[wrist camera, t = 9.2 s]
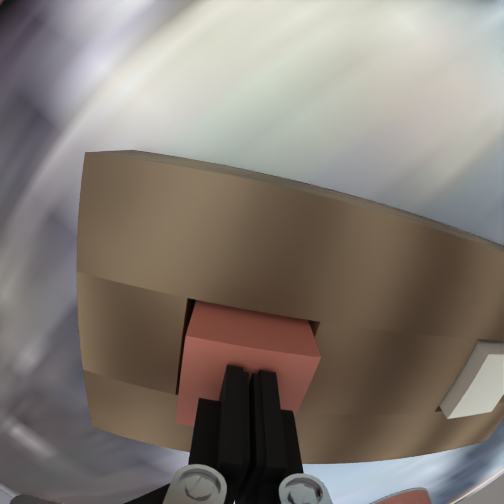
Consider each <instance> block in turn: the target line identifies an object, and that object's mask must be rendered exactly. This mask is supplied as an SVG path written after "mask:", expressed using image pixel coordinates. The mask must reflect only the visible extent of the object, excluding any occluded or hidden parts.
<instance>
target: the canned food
mask: <svg viewBox="0 0 504 504" xmlns="http://www.w3.org/2000/svg"><path fill="white" fill-rule="evenodd" d="M370 504H432V503H431V501H430V498H429V496H428V492H427V490H426V489H425V488H412V489H408V490H404V491H400V492H397V493H394V494H391V495H389V496H386V497H384V498H381V499H379V500H377V501H374V502H372V503H370Z"/></svg>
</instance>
